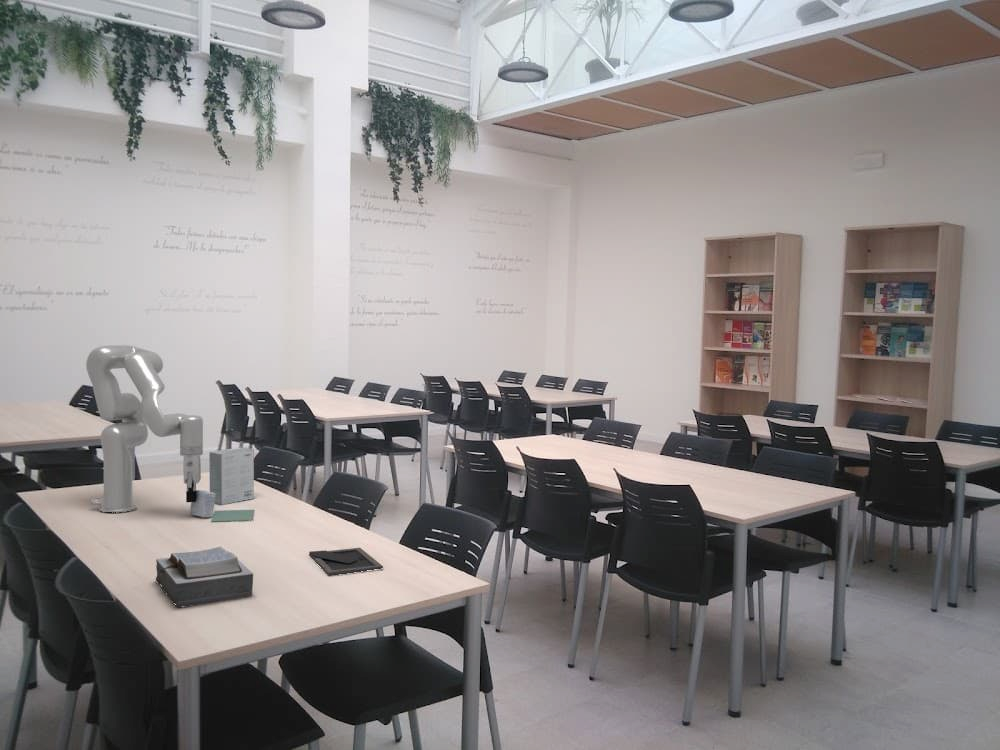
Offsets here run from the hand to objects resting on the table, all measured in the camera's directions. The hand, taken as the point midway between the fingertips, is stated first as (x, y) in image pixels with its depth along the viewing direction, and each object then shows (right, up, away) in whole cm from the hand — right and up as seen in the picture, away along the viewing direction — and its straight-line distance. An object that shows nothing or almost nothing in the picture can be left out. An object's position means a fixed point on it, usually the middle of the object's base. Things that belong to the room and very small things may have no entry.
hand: (191, 501), depth 285 cm
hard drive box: (+5, -4, +29) cm, 29 cm away
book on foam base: (+31, -12, -73) cm, 81 cm away
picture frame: (+64, -11, -47) cm, 80 cm away
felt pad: (+14, -6, +4) cm, 15 cm away
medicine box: (+3, -6, +2) cm, 6 cm away
